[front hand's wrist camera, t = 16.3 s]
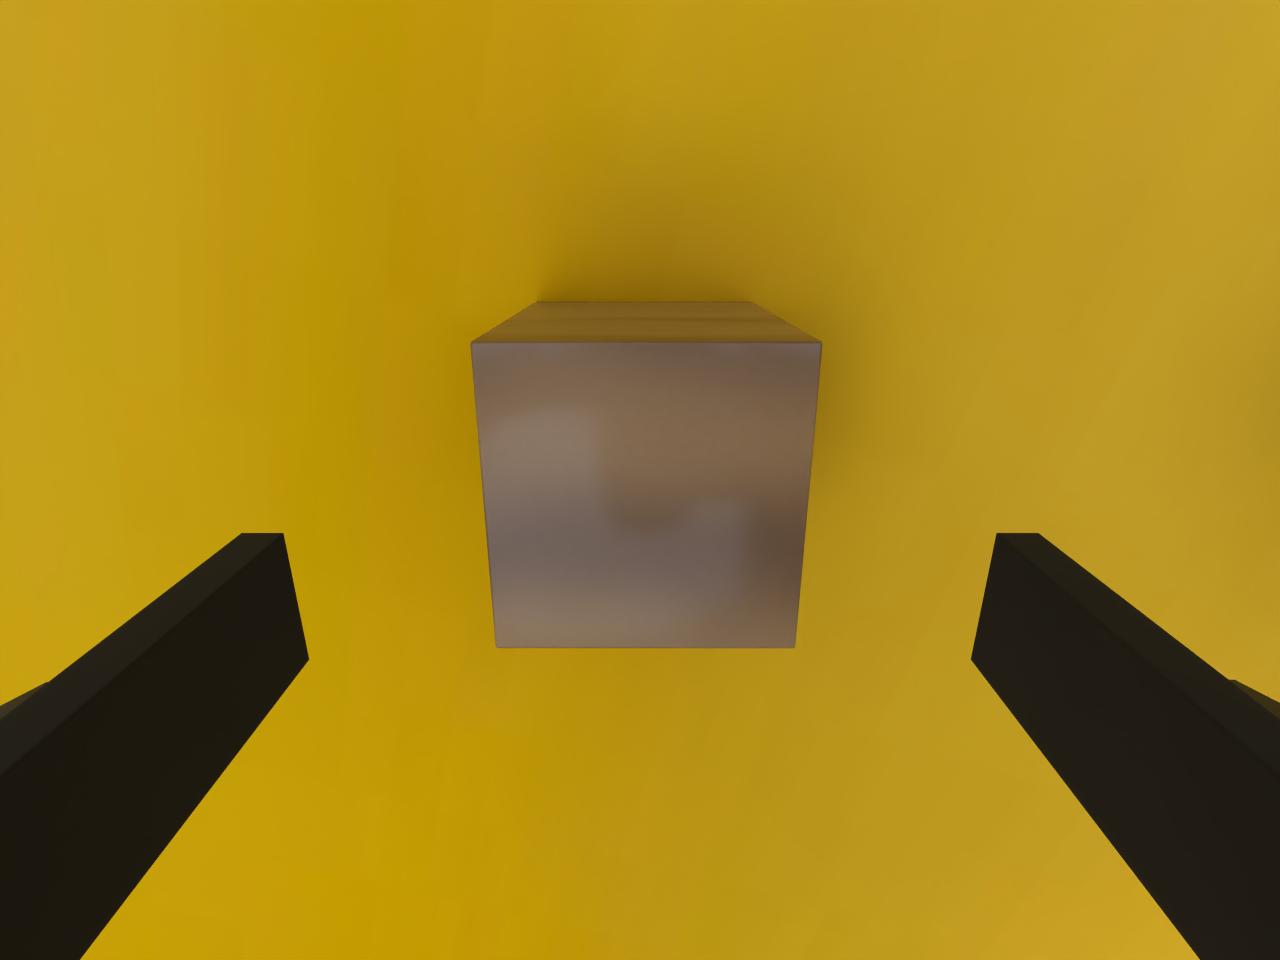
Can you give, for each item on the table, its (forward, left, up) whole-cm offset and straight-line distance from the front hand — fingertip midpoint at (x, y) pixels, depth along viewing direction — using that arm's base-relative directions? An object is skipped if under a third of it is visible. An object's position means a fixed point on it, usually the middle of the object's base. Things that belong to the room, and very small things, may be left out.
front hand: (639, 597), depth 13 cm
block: (0, 0, -16) cm, 16 cm away
